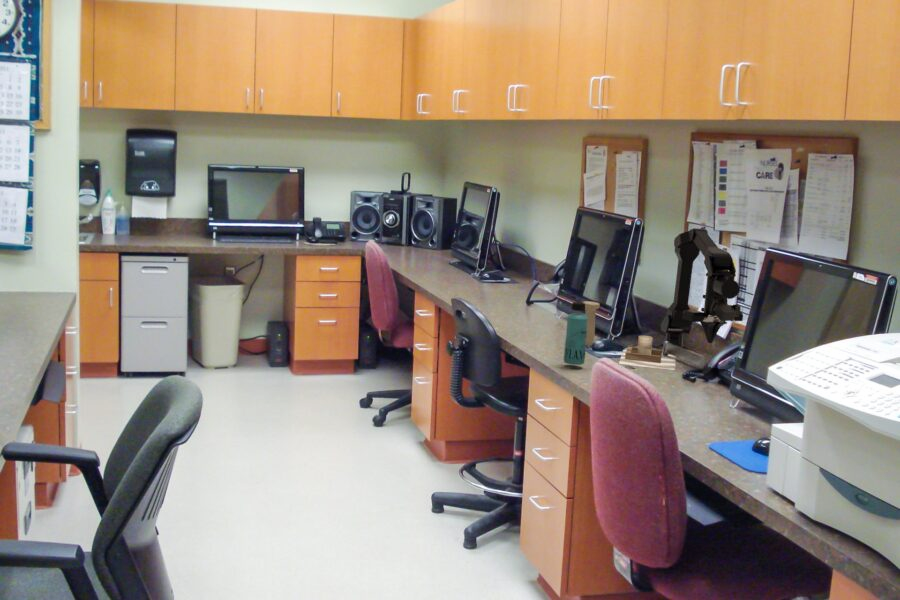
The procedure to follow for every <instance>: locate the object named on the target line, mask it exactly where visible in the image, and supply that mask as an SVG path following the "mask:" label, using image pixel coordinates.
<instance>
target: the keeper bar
mask: <svg viewBox="0 0 900 600" xmlns="http://www.w3.org/2000/svg"><path fill="white" fill-rule="evenodd" d="M668 354H669V355H673V356H676V358H679V359H681V360H683V361H686V362H688V363H691V364H694V365H696V366H698V367H704V365H705V355H703V354H700V353H699V352H695V351H692V350H690V349H687V348H684V347H683V346H682V347H680V346H677V345H674V344H672V343H669V341H666V340H663V346H662V355H668Z"/></svg>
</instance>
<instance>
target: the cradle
mask: <svg viewBox="0 0 900 600" xmlns="http://www.w3.org/2000/svg"><path fill="white" fill-rule="evenodd" d="M637 350H638V346H629V345H628V346H627V349H623V350H622V353H621V354H620V355H621V356H620V359H619V362H618V365H619V364H621V365H623V366H625V367H626V369H636V368H635V367H643V368H644V367H645V368H652V369H662V370H670V371H671V370H672V371H675V370H676V361H677V360H676V359H677V357H676V356H673V355H671V354H668V355H662V354H663V349H658V348H657V349H656V348H652V351H651V355H648V354H639V353H637ZM633 366H635V367H633Z"/></svg>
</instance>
